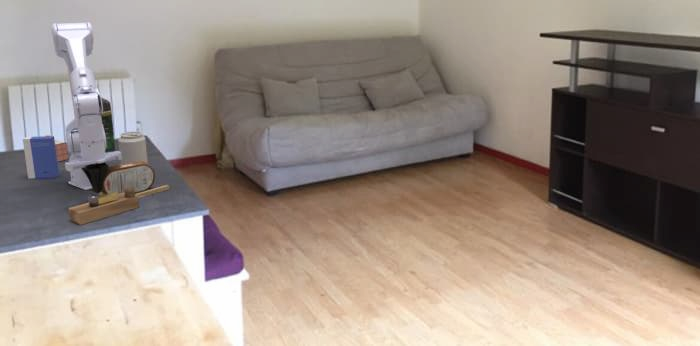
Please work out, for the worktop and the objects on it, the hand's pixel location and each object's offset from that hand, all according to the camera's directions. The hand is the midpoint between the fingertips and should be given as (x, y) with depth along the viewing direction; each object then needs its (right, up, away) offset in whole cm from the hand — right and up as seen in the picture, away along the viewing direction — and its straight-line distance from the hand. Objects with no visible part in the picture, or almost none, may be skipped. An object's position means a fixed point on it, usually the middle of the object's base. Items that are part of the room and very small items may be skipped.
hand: (97, 191), depth 179 cm
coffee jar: (-14, +10, +43) cm, 46 cm away
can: (+2, +5, +25) cm, 26 cm away
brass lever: (+4, -2, -9) cm, 10 cm away
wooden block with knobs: (+4, -5, -7) cm, 10 cm away
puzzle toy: (-27, +9, +39) cm, 48 cm away
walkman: (-23, +4, +22) cm, 32 cm away
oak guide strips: (+7, 0, +9) cm, 11 cm away
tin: (+6, -1, +7) cm, 9 cm away
